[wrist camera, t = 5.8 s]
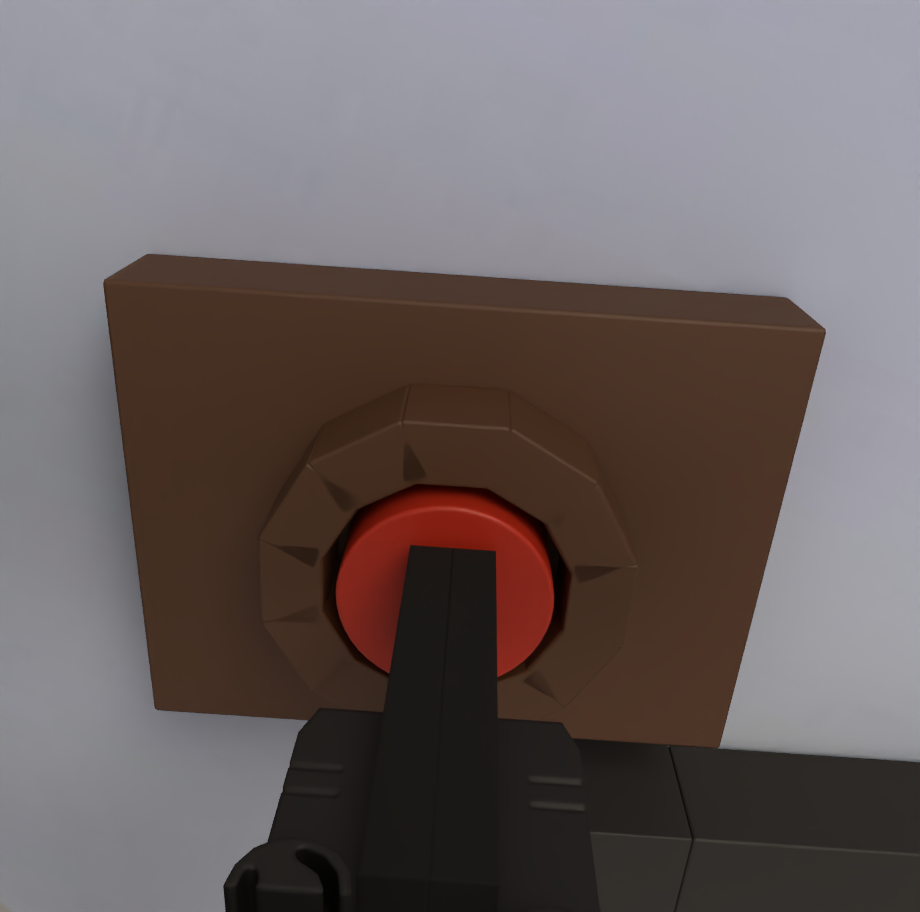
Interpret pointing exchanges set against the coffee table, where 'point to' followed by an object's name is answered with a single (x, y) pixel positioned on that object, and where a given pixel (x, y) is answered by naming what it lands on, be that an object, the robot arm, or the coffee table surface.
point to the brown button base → (453, 474)
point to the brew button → (452, 526)
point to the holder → (750, 830)
